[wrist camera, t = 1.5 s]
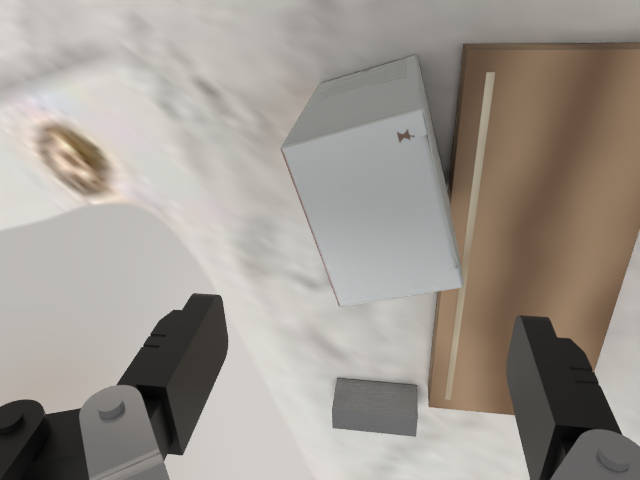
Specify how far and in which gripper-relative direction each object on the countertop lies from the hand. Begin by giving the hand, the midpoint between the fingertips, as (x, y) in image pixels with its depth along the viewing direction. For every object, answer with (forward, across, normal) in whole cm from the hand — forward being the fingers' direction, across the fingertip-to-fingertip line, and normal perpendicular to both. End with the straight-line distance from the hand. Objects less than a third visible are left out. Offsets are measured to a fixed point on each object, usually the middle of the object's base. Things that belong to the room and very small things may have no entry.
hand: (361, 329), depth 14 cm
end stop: (+17, 0, +20) cm, 26 cm away
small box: (+18, 0, 0) cm, 18 cm away
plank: (+17, -9, +7) cm, 21 cm away
